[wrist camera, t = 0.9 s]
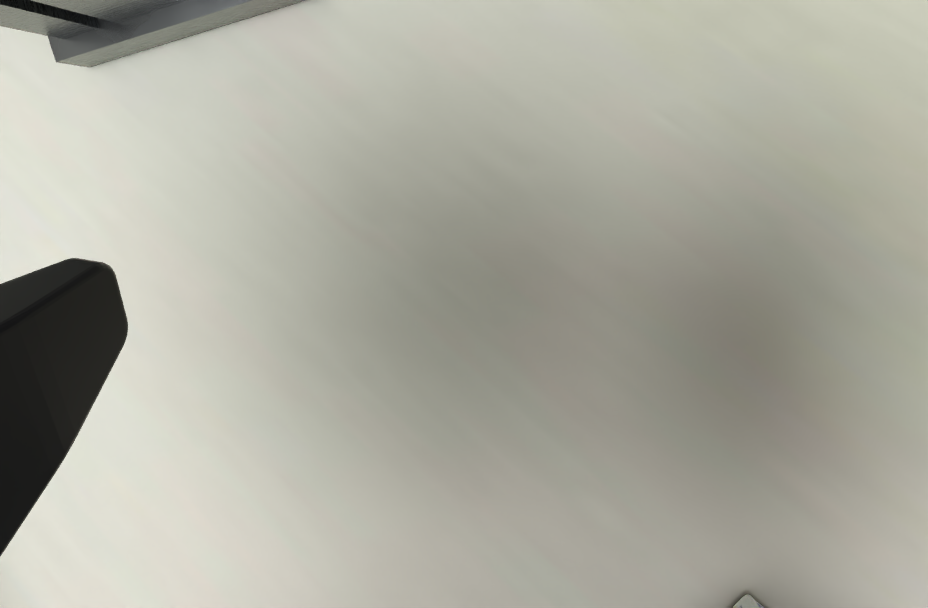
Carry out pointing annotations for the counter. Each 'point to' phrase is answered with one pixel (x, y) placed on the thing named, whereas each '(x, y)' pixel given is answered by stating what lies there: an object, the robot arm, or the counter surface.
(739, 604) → the medicine box
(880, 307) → the counter surface
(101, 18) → the grey holder with base
